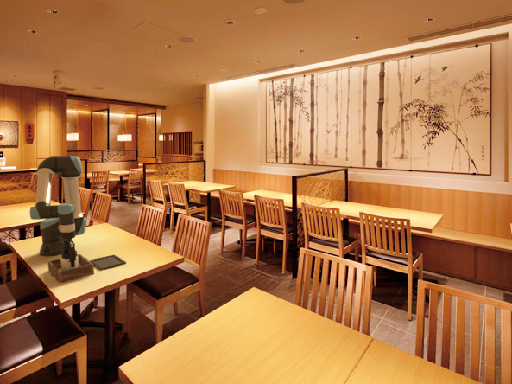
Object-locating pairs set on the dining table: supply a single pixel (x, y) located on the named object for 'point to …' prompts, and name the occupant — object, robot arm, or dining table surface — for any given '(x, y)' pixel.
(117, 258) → the tray
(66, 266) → the jar
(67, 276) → the crate
